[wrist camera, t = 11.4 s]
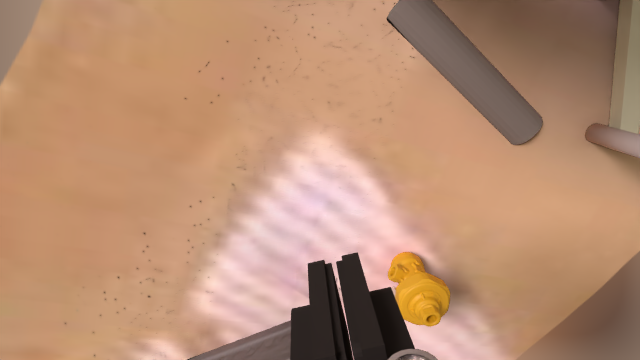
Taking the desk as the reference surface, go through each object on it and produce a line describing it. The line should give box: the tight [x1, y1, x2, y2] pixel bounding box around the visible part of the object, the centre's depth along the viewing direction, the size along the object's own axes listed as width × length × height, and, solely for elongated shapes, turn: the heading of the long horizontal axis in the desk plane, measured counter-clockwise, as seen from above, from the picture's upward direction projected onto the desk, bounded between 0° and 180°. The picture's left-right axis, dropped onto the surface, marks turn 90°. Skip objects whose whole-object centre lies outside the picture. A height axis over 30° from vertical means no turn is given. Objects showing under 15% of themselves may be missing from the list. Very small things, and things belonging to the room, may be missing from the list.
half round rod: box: [387, 0, 543, 145], centre depth 36 cm, size 4×20×2 cm, turn 50°
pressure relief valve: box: [388, 252, 450, 326], centre depth 40 cm, size 6×12×10 cm, turn 151°
